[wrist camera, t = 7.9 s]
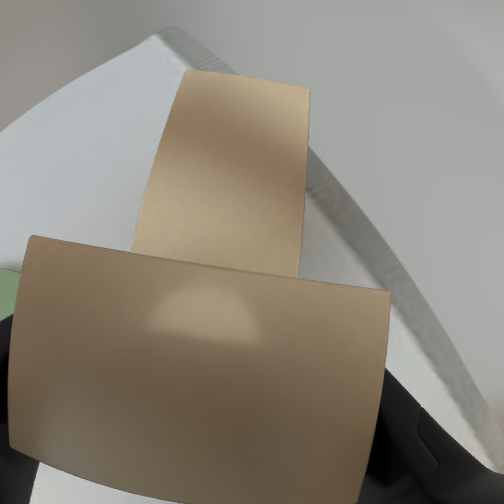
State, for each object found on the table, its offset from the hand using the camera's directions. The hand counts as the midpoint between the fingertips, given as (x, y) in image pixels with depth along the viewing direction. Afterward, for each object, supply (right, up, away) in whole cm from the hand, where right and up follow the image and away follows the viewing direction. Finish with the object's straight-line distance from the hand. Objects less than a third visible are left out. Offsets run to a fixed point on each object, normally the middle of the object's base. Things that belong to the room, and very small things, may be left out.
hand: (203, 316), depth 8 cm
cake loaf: (-1, +3, +15) cm, 15 cm away
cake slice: (-1, -3, +6) cm, 7 cm away
